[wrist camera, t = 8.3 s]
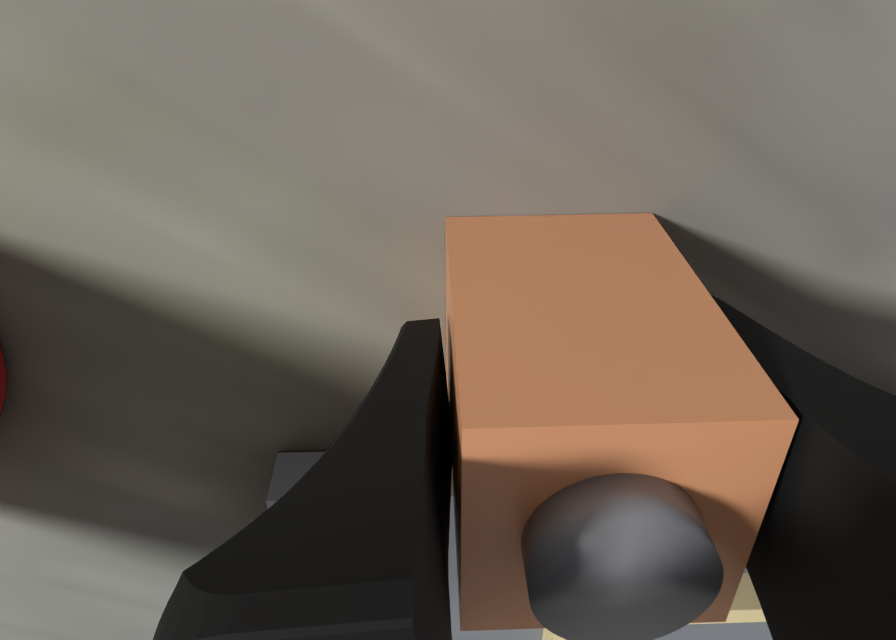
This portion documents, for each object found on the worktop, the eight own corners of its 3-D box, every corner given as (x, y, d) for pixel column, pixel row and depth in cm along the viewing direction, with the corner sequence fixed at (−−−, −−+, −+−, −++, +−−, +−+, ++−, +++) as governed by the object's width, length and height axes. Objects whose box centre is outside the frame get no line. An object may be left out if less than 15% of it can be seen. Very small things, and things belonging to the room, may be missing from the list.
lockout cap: (652, 213, 13) (833, 468, 7) (624, 377, 15) (747, 674, 10) (445, 217, 13) (465, 479, 7) (446, 382, 15) (463, 684, 9)
